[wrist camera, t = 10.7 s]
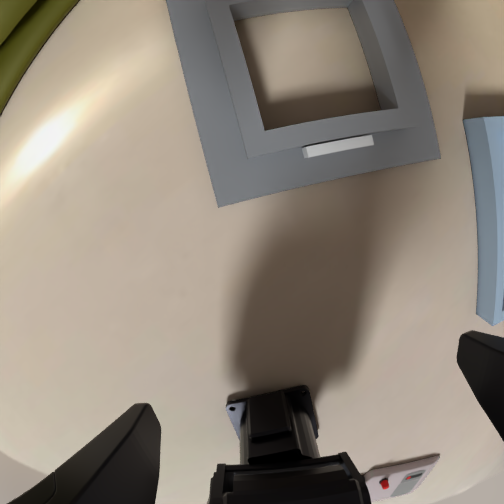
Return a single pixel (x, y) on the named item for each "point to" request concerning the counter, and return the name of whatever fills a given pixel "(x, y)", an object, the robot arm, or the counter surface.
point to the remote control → (398, 478)
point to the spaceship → (25, 36)
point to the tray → (488, 211)
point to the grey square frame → (304, 134)
